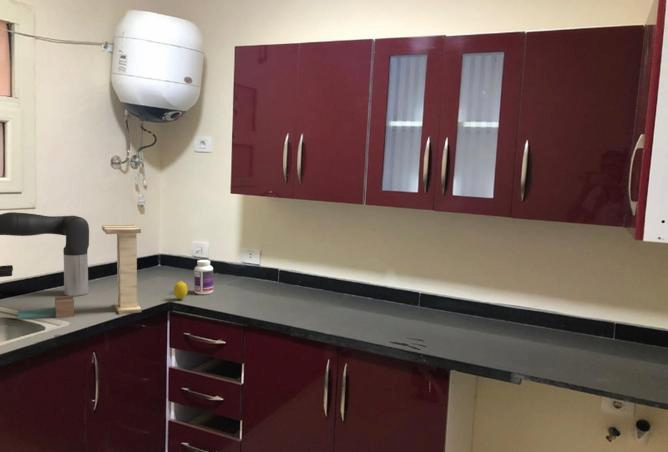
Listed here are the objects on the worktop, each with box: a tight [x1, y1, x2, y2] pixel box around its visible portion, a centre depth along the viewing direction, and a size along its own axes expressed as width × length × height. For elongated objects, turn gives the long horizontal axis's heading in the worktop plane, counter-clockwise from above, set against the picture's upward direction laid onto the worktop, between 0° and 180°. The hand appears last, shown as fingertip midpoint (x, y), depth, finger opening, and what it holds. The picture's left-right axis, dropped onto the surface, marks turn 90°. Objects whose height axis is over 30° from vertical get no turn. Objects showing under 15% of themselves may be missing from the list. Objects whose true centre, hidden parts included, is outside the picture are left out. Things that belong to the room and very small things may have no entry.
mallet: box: [17, 295, 75, 320], centre depth 203 cm, size 8×18×6 cm, turn 119°
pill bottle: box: [193, 259, 214, 296], centre depth 244 cm, size 8×8×14 cm
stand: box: [101, 224, 142, 315], centre depth 214 cm, size 15×12×32 cm
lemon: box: [173, 280, 188, 301], centre depth 232 cm, size 6×6×8 cm
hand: (12, 270), depth 196 cm, fingers open, 8 cm apart
